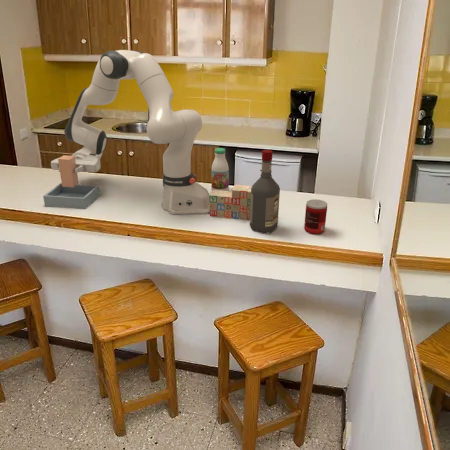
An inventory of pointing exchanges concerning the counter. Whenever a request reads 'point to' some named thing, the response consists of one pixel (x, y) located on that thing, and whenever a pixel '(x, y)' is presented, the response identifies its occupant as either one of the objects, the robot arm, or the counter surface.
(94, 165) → the robot arm
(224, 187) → the milk bottle
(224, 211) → the stack of blocks
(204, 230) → the counter surface
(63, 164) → the terracotta block
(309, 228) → the canned food
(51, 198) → the tray
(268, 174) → the liquor
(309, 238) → the counter surface
